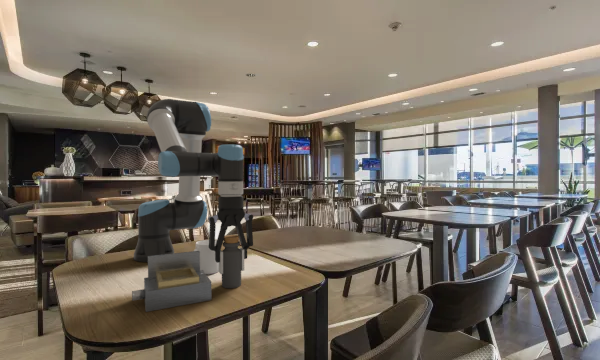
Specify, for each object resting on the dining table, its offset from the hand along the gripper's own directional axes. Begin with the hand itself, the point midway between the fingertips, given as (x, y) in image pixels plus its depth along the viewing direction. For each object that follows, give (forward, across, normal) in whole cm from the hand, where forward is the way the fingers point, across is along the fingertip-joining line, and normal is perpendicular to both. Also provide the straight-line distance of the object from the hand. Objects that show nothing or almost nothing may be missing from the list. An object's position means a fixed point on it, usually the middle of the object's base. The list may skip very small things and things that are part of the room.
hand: (231, 270), depth 98 cm
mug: (+5, -5, +17) cm, 18 cm away
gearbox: (+4, -17, -3) cm, 18 cm away
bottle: (+5, 0, 0) cm, 5 cm away
